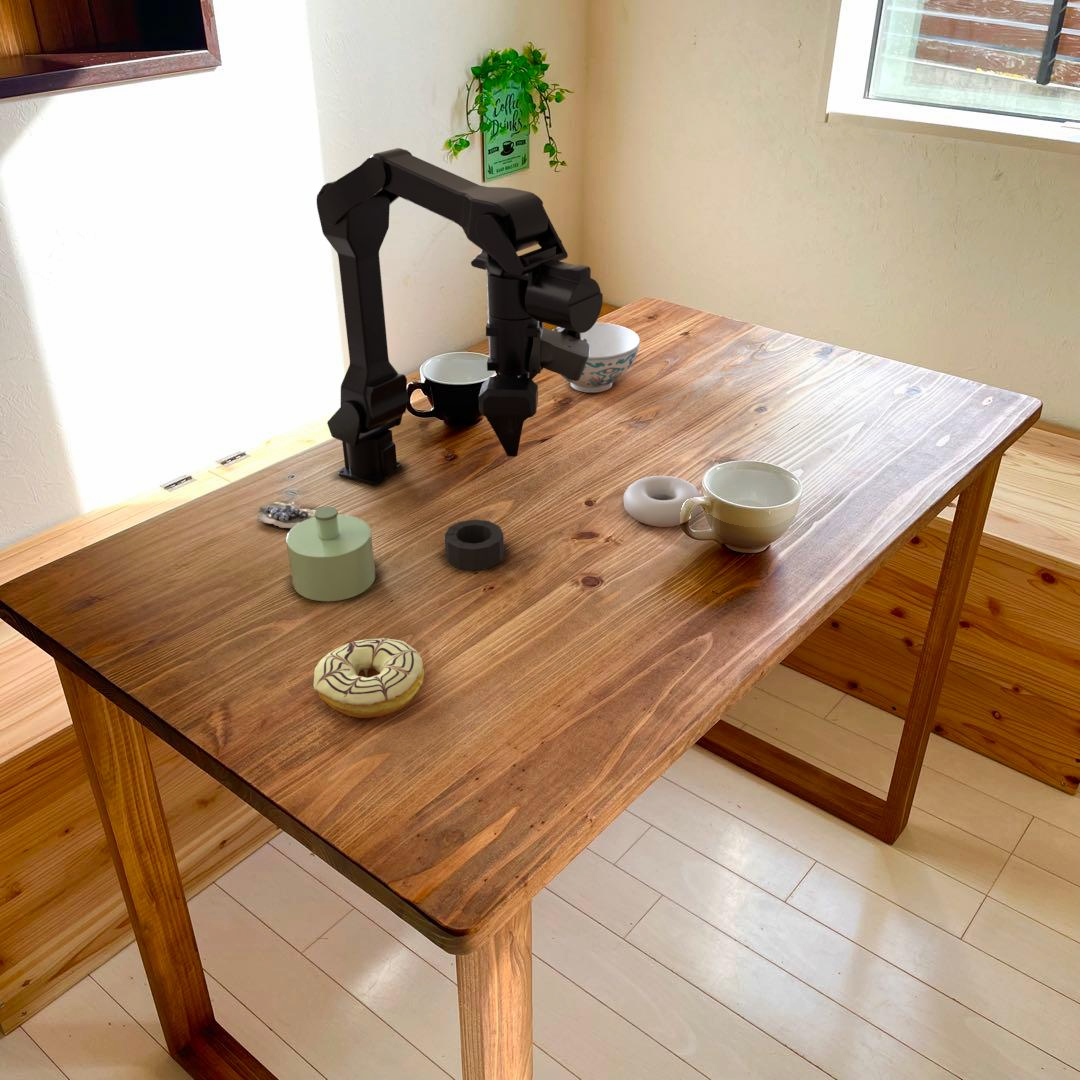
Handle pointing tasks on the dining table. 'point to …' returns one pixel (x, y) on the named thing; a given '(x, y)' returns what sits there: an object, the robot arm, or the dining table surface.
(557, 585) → the dining table surface
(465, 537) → the rubber ring
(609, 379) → the chinaware
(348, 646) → the decorated donut
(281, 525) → the blueberry tart
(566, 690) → the dining table surface
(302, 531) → the green cylinder with peg
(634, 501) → the donut
